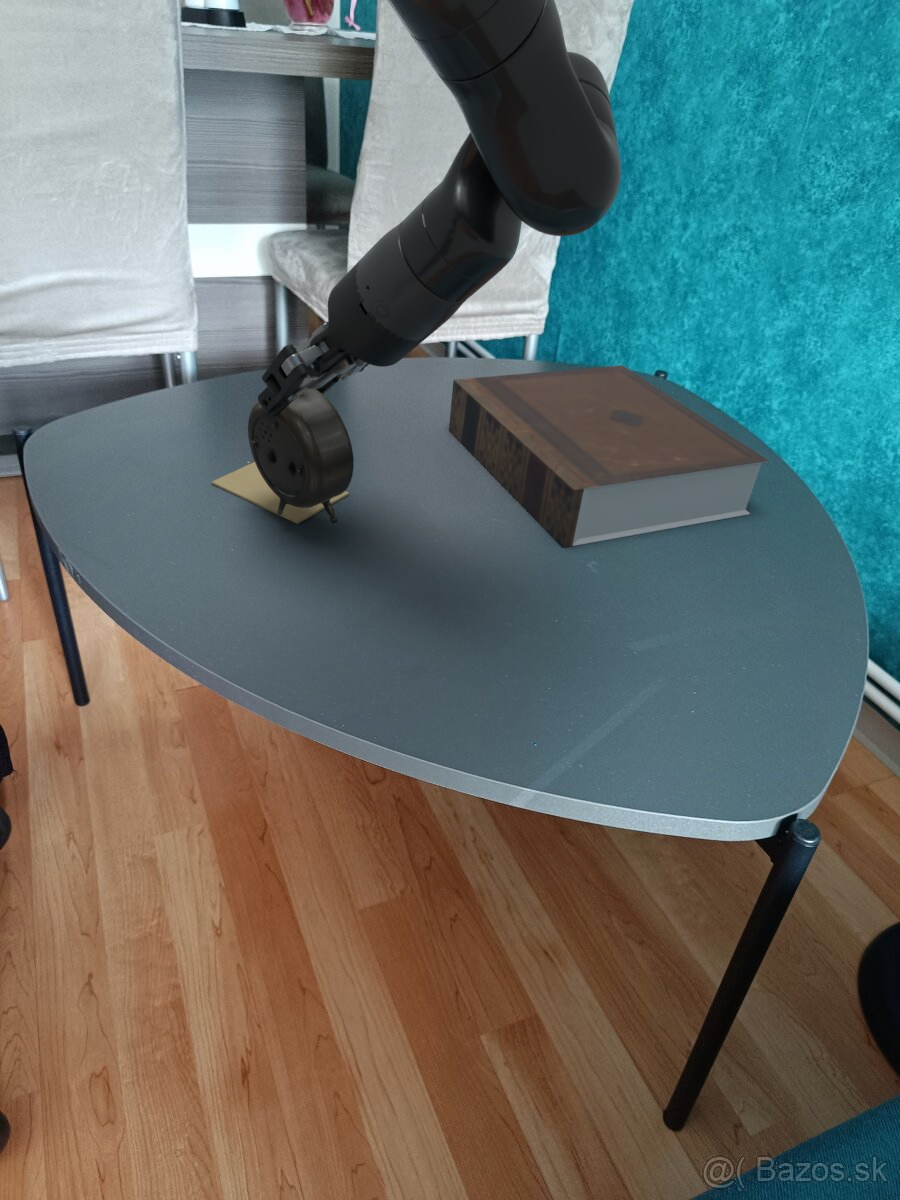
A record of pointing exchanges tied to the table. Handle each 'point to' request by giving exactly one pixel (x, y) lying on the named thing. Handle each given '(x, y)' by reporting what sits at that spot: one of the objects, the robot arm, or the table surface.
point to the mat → (265, 493)
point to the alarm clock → (302, 451)
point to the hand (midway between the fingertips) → (287, 398)
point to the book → (601, 452)
